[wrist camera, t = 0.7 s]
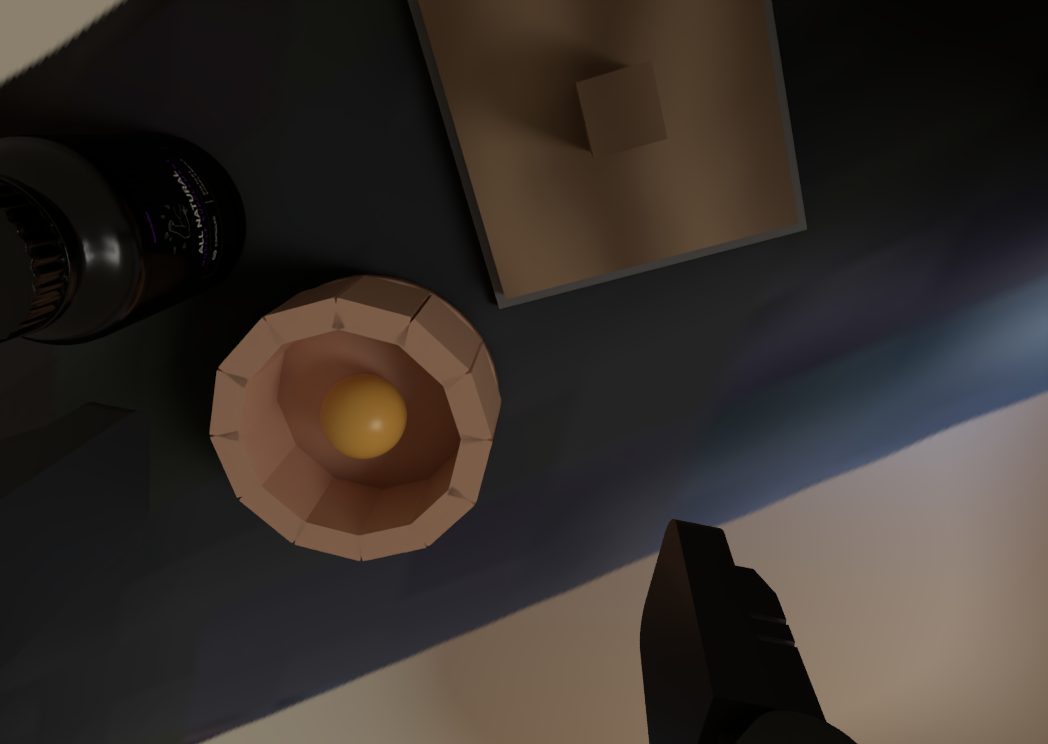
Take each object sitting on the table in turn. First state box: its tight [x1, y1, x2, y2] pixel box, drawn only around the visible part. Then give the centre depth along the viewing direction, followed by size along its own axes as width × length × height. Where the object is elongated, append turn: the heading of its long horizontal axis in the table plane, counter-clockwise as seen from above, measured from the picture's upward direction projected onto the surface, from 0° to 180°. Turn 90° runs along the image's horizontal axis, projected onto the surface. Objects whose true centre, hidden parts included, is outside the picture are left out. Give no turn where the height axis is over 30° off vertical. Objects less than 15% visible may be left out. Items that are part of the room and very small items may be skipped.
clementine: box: [320, 374, 407, 459], centre depth 31 cm, size 4×4×4 cm
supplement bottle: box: [0, 133, 246, 345], centre depth 26 cm, size 7×7×12 cm
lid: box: [418, 0, 798, 299], centre depth 26 cm, size 12×12×6 cm
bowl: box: [209, 274, 501, 561], centre depth 31 cm, size 11×11×5 cm
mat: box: [408, 0, 807, 309], centre depth 29 cm, size 13×13×1 cm
